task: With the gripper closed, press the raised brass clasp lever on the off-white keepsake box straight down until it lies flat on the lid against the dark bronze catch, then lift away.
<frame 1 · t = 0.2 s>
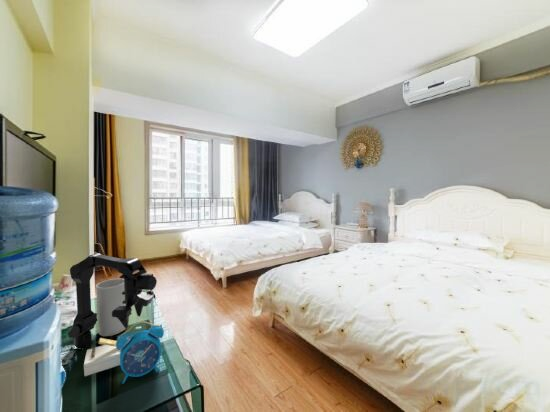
hand: (132, 321, 108), 14 cm above the table, fingers open, 9 cm apart
cylinder vase: (113, 330, 126), on the table
alarm clock: (142, 373, 97), on the table
brass clasp lever: (111, 342, 103), point 8 cm above the table, hinge at 30.0°
keepsake box: (108, 361, 103), on the table
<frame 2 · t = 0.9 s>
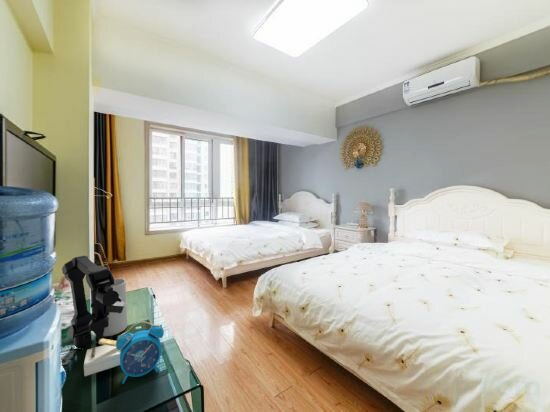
hand: (101, 334, 101), 12 cm above the table, fingers open, 6 cm apart
nothing on the table moved.
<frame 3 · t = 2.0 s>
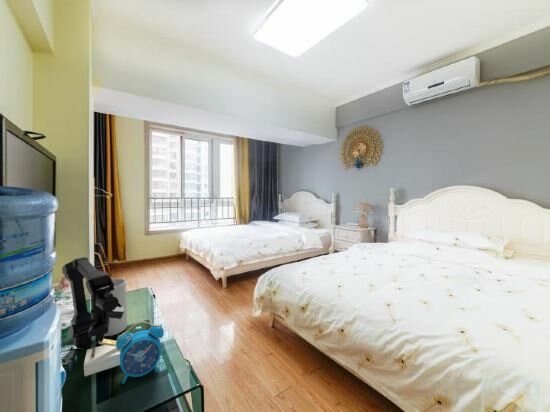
hand: (101, 340, 101), 10 cm above the table, fingers closed, pressing on brass clasp lever
brass clasp lever: (111, 342, 103), point 8 cm above the table, hinge at 30.0°, touching gripper
everything else where it was.
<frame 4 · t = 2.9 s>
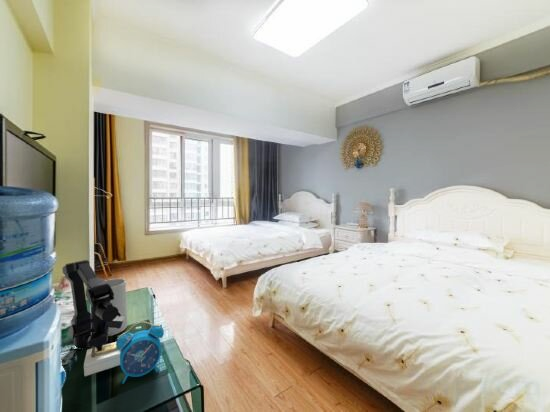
hand: (100, 350, 101), 6 cm above the table, fingers closed, pressing on brass clasp lever
brass clasp lever: (109, 347, 103), point 6 cm above the table, hinge at 2.5°, touching gripper
everything else where it was.
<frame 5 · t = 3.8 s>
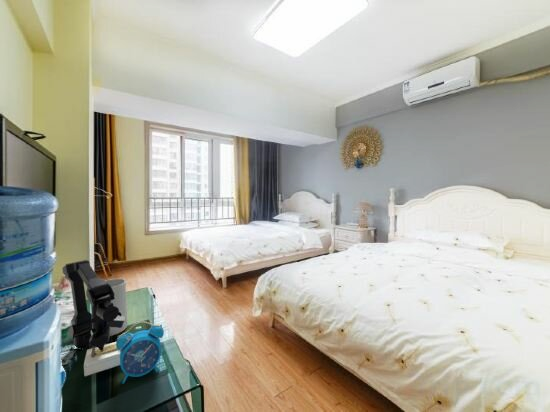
hand: (101, 349, 101), 6 cm above the table, fingers closed
brass clasp lever: (109, 348, 103), point 6 cm above the table, hinge at -1.9°, touching keepsake box
everything else where it was.
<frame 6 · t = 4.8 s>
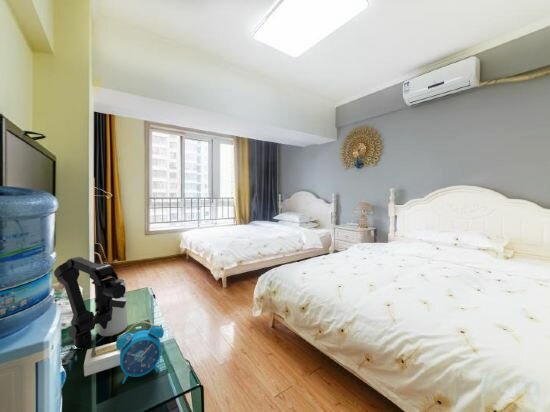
hand: (105, 328, 106), 12 cm above the table, fingers closed
nothing on the table moved.
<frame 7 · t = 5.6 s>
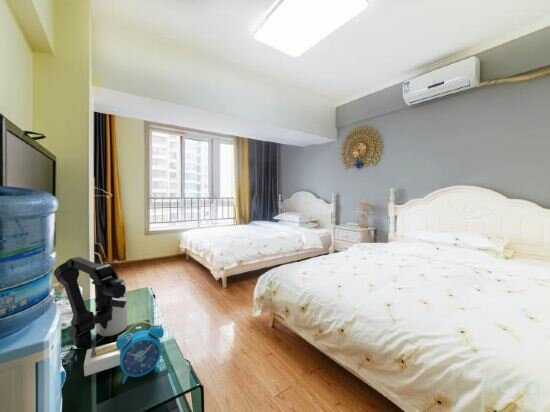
hand: (105, 328, 106), 12 cm above the table, fingers closed
nothing on the table moved.
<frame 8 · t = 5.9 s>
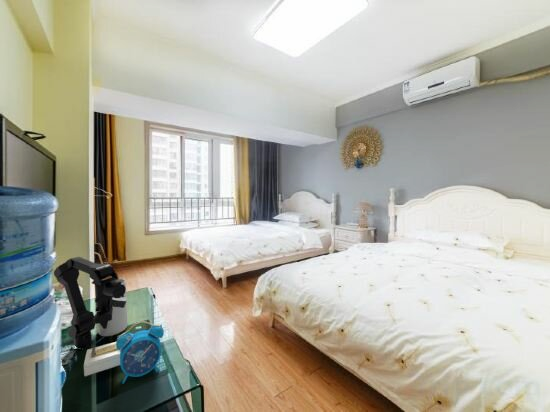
hand: (105, 328, 106), 12 cm above the table, fingers closed
nothing on the table moved.
at the end: brass clasp lever at -2° (first picture: +30°); alarm clock moved 0.2 cm from its start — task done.
